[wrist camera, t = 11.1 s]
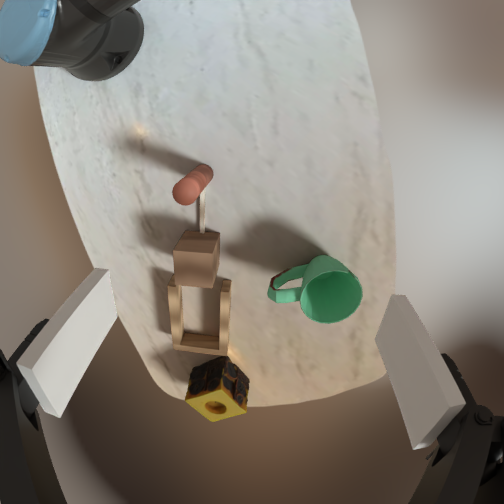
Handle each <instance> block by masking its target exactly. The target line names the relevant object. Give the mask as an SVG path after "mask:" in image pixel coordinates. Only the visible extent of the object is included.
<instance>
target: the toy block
mask: <svg viewBox="0 0 504 504" xmlns="http://www.w3.org/2000/svg"><path fill="white" fill-rule="evenodd" d="M249 382H250V381H249V379H248V377H247V376H246V375H244V373H243V372H242V371H241V370H240V369H239V367H237V366H236V365H234V364H233V363H232V362H231V360H230V358H229V357H228V356H222V357H220V358H216V359H214V360H211V361H209V362H206V363H204V364H202V365H200V366H197V367H194V368H193V369H192V372H191V374H190V379H189V385H188V391H187V393H186V397H185V401H186V402H187V403H188V404H189V405H191V406H192V407H193V408H194V409H196V410H197V411H198V412H199V413H201V414H202V415H203V416H204V417H206V418H207V419H208V420H209V421H212V422H214V421H218V420H221V419H225V418H229V417H232V416H236V415H240V414H244V413H246V412H247V401H248V399H247V396H248V391H249Z"/></svg>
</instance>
